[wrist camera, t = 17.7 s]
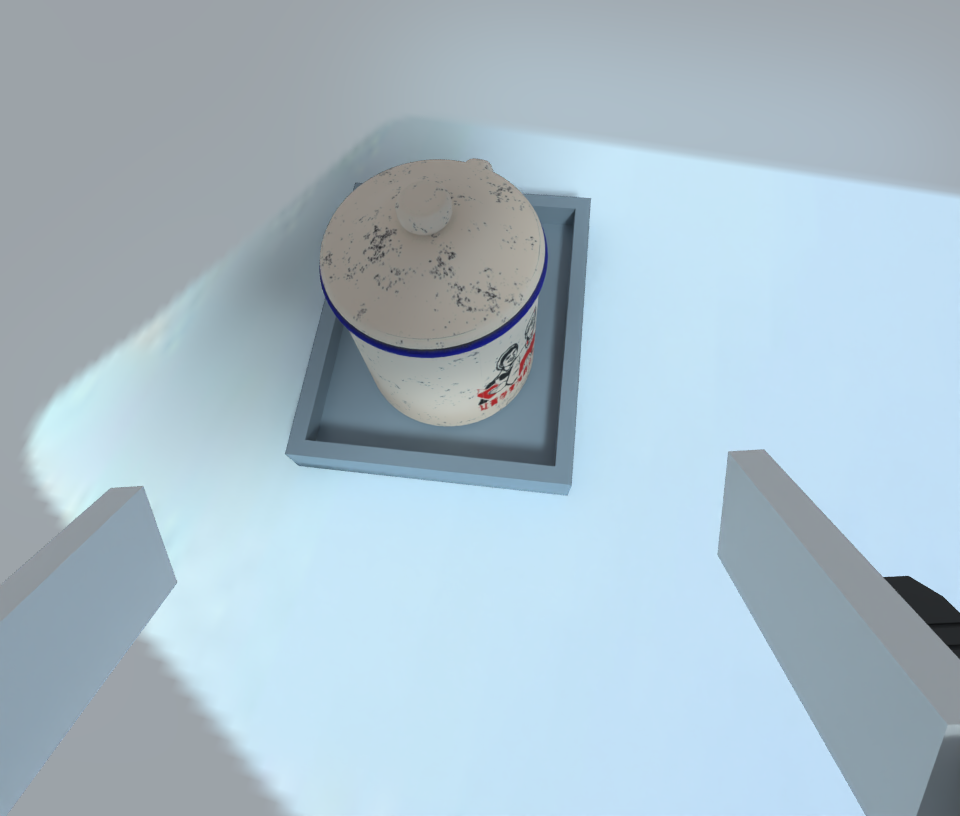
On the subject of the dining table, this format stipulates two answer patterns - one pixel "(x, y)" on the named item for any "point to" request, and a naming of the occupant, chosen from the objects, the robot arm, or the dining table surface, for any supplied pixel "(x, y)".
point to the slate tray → (473, 447)
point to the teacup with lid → (438, 286)
